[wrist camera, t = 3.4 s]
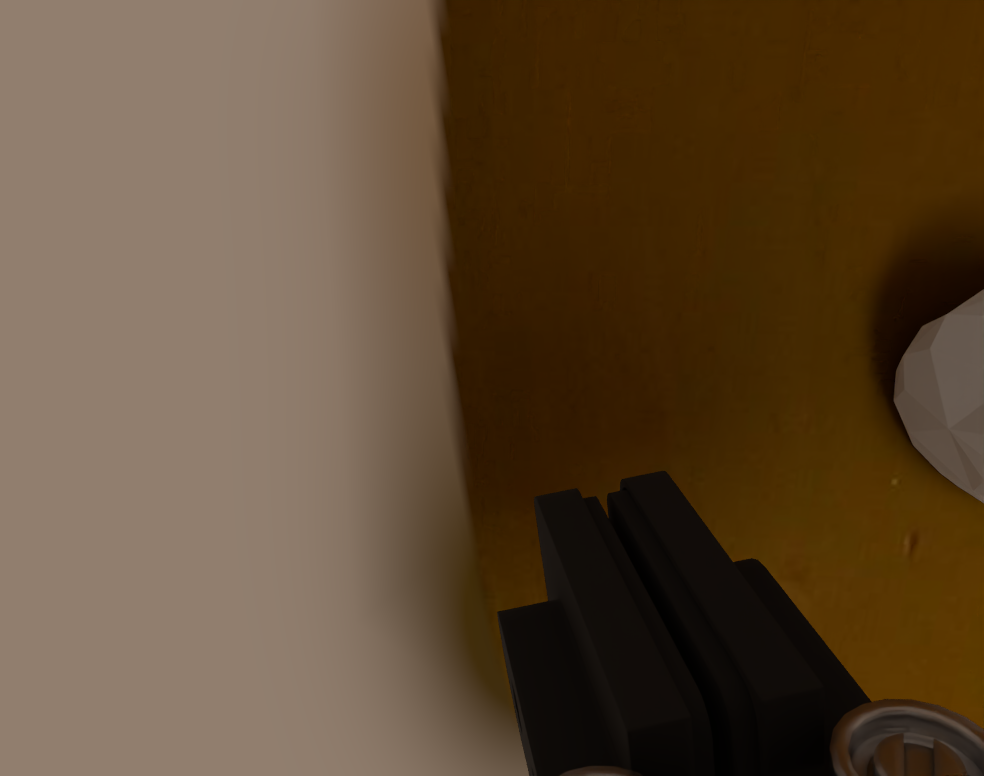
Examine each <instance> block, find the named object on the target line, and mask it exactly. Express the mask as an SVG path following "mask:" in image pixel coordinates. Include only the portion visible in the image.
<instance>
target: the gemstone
mask: <svg viewBox="0 0 984 776" xmlns="http://www.w3.org/2000/svg"><path fill="white" fill-rule="evenodd" d="M894 403H895V405H896V407H897V410H898V412H899V414H900V416H901V419H902V421H903V423H904V426H905V428H906V430H907V433H908V435H909V437H910V440H911V442H912V444H913V446H914V447H915V448H916V449H917V450H918V451H919V452H920V453H921V454H922V455H923V456H924V457H925V458H926V459H927V460H928V461H929V462H930V463H931V464H932V465H933V466H934V467H935V468H936V470H937V471H938V472H939V473H941V474H942V475H943V476H945V477H946V478H947V479H949V480H950V481H951V482H953V483H954V484H955V485H956V486H958V487H960V488H961V489H963V490H964V491H966V492H967V493H969V494H970V495H972V496H973V497H975V498H977V499H978V500H980V501H981V502H983V503H984V289H983V290H982V291H980V292H979V293H977V294H976V295H975V296H973V297H972V298H970V299H969V300H967V301H966V302H964V303H963V304H961V305H960V306H958V307H957V308H955V309H954V310H952V311H951V312H949V313H948V314H946V315H944V316H942V317H940V318H938V319H936V320H934V321H932V322H930V323H928V324H926V325H924V326H922V327H921V329H920V330H919V332H918V333H917V335H916V337H915V338H914V340H913V341H912V343H911V344H910V346H909V347H908V349H907V350H906V352H905V354H904V355H903V357H902V359H901V361H900V363H899V366H898V368H897V370H896V378H895V391H894Z"/></svg>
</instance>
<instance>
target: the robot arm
mask: <svg viewBox="0 0 984 776" xmlns="http://www.w3.org/2000/svg"><path fill="white" fill-rule="evenodd" d="M534 506H535V514H536V520H537V527H538V534H539V541H540V548H541V554H542V561H543V568H544V575H545V582H546V589H547V595H548V601H547V602H542V603H537V604H533V605H528V606H523V607H518V608H514V609H509V610H504V611H499V612H497V614H498V622H499V628H500V634H501V639H502V645H503V651H504V656H505V662H506V667H507V673H508V678H509V683H510V688H511V693H512V698H513V703H514V708H515V713H516V718H517V723H518V727H519V732H520V736H521V741H522V745H523V749H524V754H525V758H526V762H527V767H528V771H529V776H984V729H982V728H981V727H979V726H978V725H976V724H975V723H973V722H972V721H971V720H969V719H968V718H966V717H964V716H962V715H960V714H957V713H955V712H953V711H950V710H948V709H946V708H943V707H941V706H938V705H934V704H929V703H925V702H920V701H916V700H909V699H884V700H879V701H874V702H871V701H870V699H869V698H868V697H867V695H866V694H865V693H864V692H863V690H862V689H861V688H860V687H859V685H858V684H857V683H856V682H855V680H854V679H853V678H852V676H851V675H850V674H849V673H848V671H847V670H846V669H845V668H844V666H843V665H842V664H841V663H840V661H839V660H838V659H837V657H836V656H835V655H834V654H833V652H832V651H831V650H830V649H829V647H828V646H827V645H826V644H825V642H824V641H823V640H822V638H821V637H820V636H819V635H818V633H817V632H816V631H815V630H814V628H813V627H812V626H811V625H810V623H809V622H808V621H807V620H806V618H805V617H804V616H803V614H802V613H801V612H800V611H799V609H798V608H797V607H796V606H795V604H794V603H793V602H792V601H791V599H790V598H789V597H788V595H787V594H786V593H785V592H784V590H783V589H782V588H781V587H780V585H779V584H778V583H777V582H776V580H775V579H774V578H773V576H772V575H771V574H770V573H769V571H768V570H767V569H766V568H765V567H764V566H763V565H762V564H761V563H760V562H759V561H758V560H756V559H752V558H751V559H746V560H741V561H737V562H732V560H731V559H730V558H729V556H728V555H727V553H726V552H725V551H724V549H723V548H722V547H721V545H720V544H719V543H718V541H717V540H716V538H715V537H714V536H713V534H712V533H711V532H710V530H709V529H708V528H707V526H706V525H705V523H704V522H703V521H702V519H701V518H700V517H699V515H698V514H697V513H696V511H695V510H694V508H693V507H692V506H691V504H690V503H689V502H688V500H687V499H686V498H685V496H684V495H683V493H682V492H681V491H680V489H679V488H678V487H677V485H676V484H675V483H674V481H673V480H672V478H671V477H670V476H669V474H668V473H667V472H666V471H660V472H655V473H650V474H645V475H640V476H635V477H630V478H625V479H622V480H621V482H620V491H618V492H613V493H608V495H607V507H608V516H609V519H608V517H607V515H606V513H605V511H604V509H603V507H602V505H601V504H600V502H599V500H598V498H597V497H596V496H593V497H588V498H582V496H581V494H580V492H579V490H578V489H577V488H575V489H570V490H565V491H560V492H555V493H550V494H545V495H540V496H535V497H534Z"/></svg>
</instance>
